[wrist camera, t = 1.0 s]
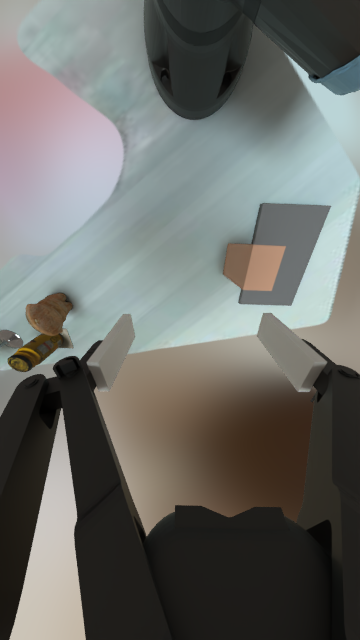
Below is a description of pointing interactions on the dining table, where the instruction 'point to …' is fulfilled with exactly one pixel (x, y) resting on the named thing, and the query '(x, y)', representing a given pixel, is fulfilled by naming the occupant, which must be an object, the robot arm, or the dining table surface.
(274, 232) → the rubber mat
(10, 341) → the wine glass
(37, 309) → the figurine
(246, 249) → the tall block
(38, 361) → the condiment
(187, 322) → the dining table surface
